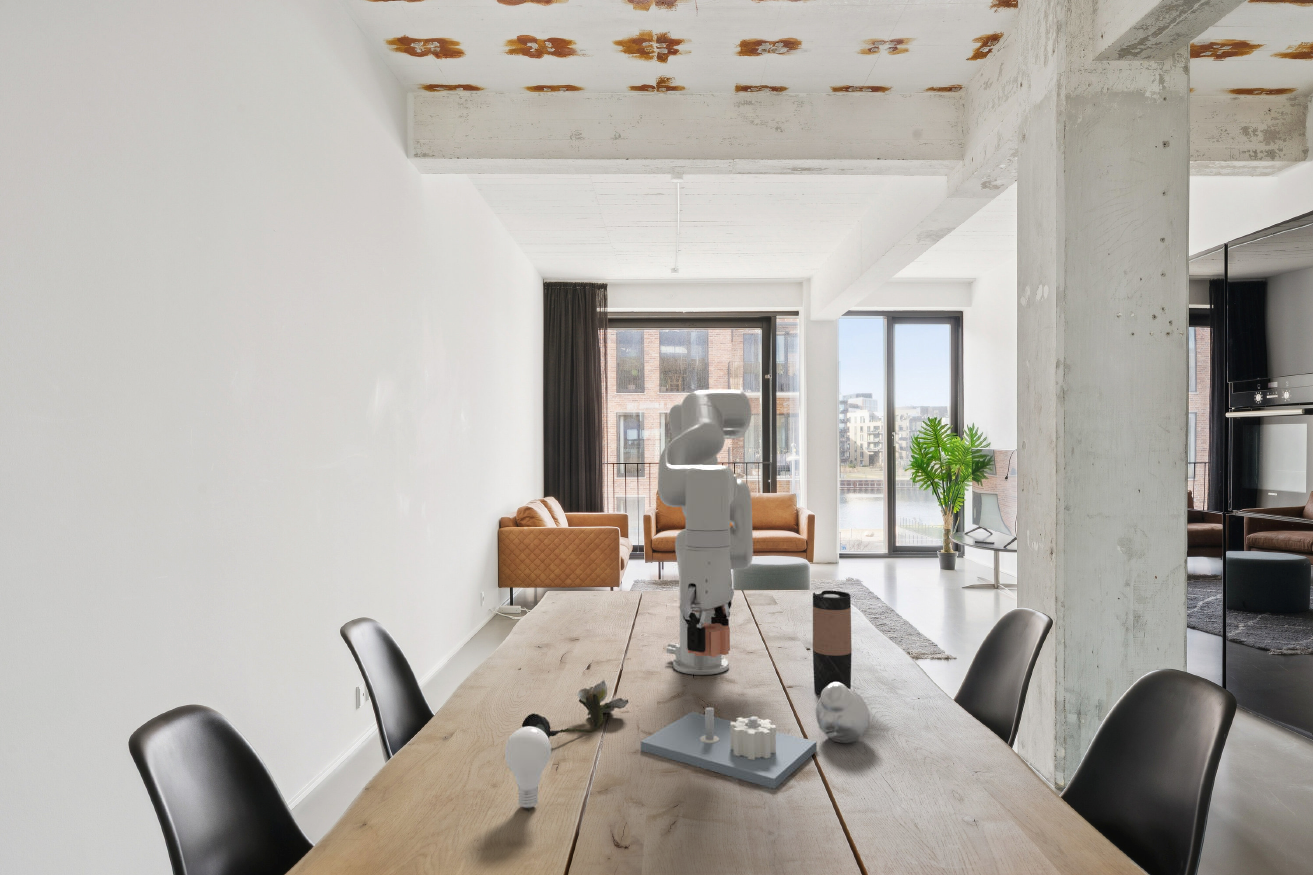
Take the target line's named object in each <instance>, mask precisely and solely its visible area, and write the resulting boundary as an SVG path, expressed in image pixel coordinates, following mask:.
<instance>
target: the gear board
mask: <svg viewBox="0 0 1313 875" xmlns="http://www.w3.org/2000/svg"><path fill="white" fill-rule="evenodd" d="M704 709H705V710H704V712H705V714H704V713H703V714H702V713H698V712H696V711H695V712H694V711H691V712H689V713H688V714H685V715H684V716H683V717H682V716H681V718H679V719H677V720H676V721H673V722H672V723H670V724H668V725H667V726H665V727H663V728H661V729H659V730H658V731H657V732H655V733H653V734H651V735H649V736H648V737H646V738H644V739H642V740H641V741H640V751H642V752H645V753H649V754H651V755H655V756H659V757H662V758H666V759H669V760H672V761H676V762H679V763H683V762H684V764H686V763H687V765H689V764H691V765H690V766H693V765H694V766H693V767H696V766H698V767H697V768H700V767H701V768H700V769H703V768H705V769H704V770H707V769H709V770H708V771H710V770H711V771H712V772H714V771H715V773H717V772H718V774H721V775H725V776H728V777H731V776H732V777H731V778H734V779H738V780H742V781H746V782H747V783H748V782H749V783H752V784H756V785H760V786H762V787H766V788H769V789H773V790H775V789H776V788H777V787H778V786H780V785H781V783H783V782H784V781H785V780H787V778H788V777H789V776H790V775H792V774H793V773H794V772H795V771H796V770H797V769H798V768H799V767H800V766H802V765H803V764H804V763H805V762H806V761H807V760H808V759H809V758H810V757H811V756H812V755H814V754H815V753H816V752H817V751H818V750H817V749H818V748H817V741H816V740H812V739H807V738H803V737H799V736H795V735H791V734H786V733H782V732H780V731H776V753H771V757H770V758H767V759H765V758H763V757H760V758H756V757H755V760H751V759H748V757H744V756H743V755H741V756H736V755H734V750H731V748H730V724H731V722H734V721H733V720H728V719H725V718H719V717H715V714H714V713H715V708H714V707H706V708H704ZM748 718H749V719H748V722H749V728H757V718H751V717H748ZM816 750H817V751H816ZM814 752H815V753H814Z"/></svg>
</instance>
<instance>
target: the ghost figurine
mask: <svg viewBox="0 0 1313 875" xmlns="http://www.w3.org/2000/svg"><path fill="white" fill-rule="evenodd" d="M819 697H820V698H819V699H818V701H817V704H816V707H815V718H816V721H817V725H818V726H819V729H820V731H821V732H822V733H823V734H824V735H825V736H826V737H828V738H829V739H830V740H832V741H834V742H838V743H841V744H847V743H853V742H856V741H857V740H859V739H861V737H863V735H865V733H866V732H867V730H868V727H869V724H870V710H869V707H868V705H867V703H866V701H865V700H864V698H863V697H862V696H861V695H860V694H859V693H858V692H857V691H855V690H853V689H848V688H847V687H846V686H845V685H844V684H842V683H839V682H833V683H830V684H829V685H828V686H826V687H825V688H824V689H823V690H822V692H821V696H819Z"/></svg>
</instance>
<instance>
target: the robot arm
mask: <svg viewBox="0 0 1313 875" xmlns="http://www.w3.org/2000/svg"><path fill="white" fill-rule="evenodd" d="M668 420H669V421H668V423H669V429H670V433H671V436H672V440H671V441H670V442H669V443H668V444H667V445H666V446H665V447H664V448H663V449H662V452H661V454H660V457H659V461H658V469H657V492H658V497H659V499H660V501H661V502H662V503H663V504H664V505H665V506H668V507H672V508H681V511H682V514H683V517H685V528H684V529H681V531H679V532H678V534H676V537H675V541H674V542H675V543H674V549H675V555H676V556H675V557H676V562H677V570H678V571H677V572H678V584H679V585H678V588H679V590H678V592H679V595H678V596H679V606H678V607H679V608H678V609H679V643H677V642H676V643H675V642H669V643H668V644H667V647H666V653H667V654H671V655H674V656H675V659H673V661H672V667H673V669H675V670H676V671H678V672H680V673H684V674H688V675H696V676H697V675H698V676H704V675H705V676H709V675H715V674H721V673H723V672H725V671H727V670H728V669H729V666H730V665H729V664H730V663H729V660H728V659H727V658H725V657H723V655H722V654H721V655H717V657H711V656H704V655H703V656H695V654H694V653H688V652H687V649H688V650H690V651H696V652H705V627H703V623H707V624H710V623H711V624H715V623H719V624H721V625H723V626H729V625H730V623H729V622H730V620H729V619H730V616H731V612H730V610H731V607H732V603H733V602H732V601H733V598H734V596H735V591H734V589H733V580H732V579H733V578H732V577H733V575H732V570H745V569H747V568H749V567H750V566H751V564H752V562H753V556H754V544H753V543H754V541H753V540H754V538H753V535H754V534H753V507H752V506H753V505H752V493H751V490H750V487H749V485H748V484H747V482H745V481H744V480H742V479H738V477H737V474H735V473H734V471H733V470H732V469H731V467H729V466H727V465H721V464H719V463H718V462H719V460H718V459H719V458H718V457H717V455H719V454H720V453H721V451H722V450H723V448H724V446H725V441H726V440H737V439H738V440H739V439H742V438H743V437H744V436H745V434H746V432H747V431H748V429H749V427H750V424H751V420H752V407H751V402H750V399H749V397H748V396H747V395H746V393H744V392H743V391H741V390H739V389H738V390H737V389H702V390H701V389H700V390H695V391H692V392H690V393H689V394H687V395H686V396H685V397H684V398H683V400H682V402H680V403H676V404H674V405H673V406H672V407H671V408H670V409H669V413H668ZM731 525H732V526H731ZM729 627H730V626H729Z"/></svg>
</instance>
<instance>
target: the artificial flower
mask: <svg viewBox="0 0 1313 875" xmlns="http://www.w3.org/2000/svg"><path fill="white" fill-rule="evenodd" d="M575 695H576V696H577V697H578V698H579V700H578V702H579V703H580V704H582V705H583V706H584V707H585V708H586V710H587V711H588V712H587V716H588V717H589V716H590V720H591V721H592V725H593V727H592V729H591V728H589V729H588V728H586V729H584V728H569V727H568V728H565V729H560V730H558V729H557V730H551V725H550V721H549V720H548V719H547V718H546V717H545V716H542V715H540V714H538V713H530V714H528V715H527V716H526V717H525V718H524V720H523V722H522V724H521V728H523V727H527V726H532V727H537V728H539V729H541V730H542V731H543V732H544V733H545V734H546V735H547V736H548V738H549V739H550V737H556V736H557V735H558V734H559V733H567V732H568V733H570V732H577V733H593V732H595V731H596V730H598V728H599V726H600V725H601V724H602V723H603V721H604V716H603V715H604V714H605V713H606V714H608V713H612V712H614V711H615V709H623V708H625V707H626V706H627V705H628V704H629V703H630V702H629V699H627V698H626V699H623V698H622V697H618V698H615V699H613V700H610V701H609V702H604V703H603V704H601V703H602V702H603V701H605V700H606V698H607V695H608V686H607V683H606V680H605V679H604V678H603V679H602V681H600V682H599V683H597V684H595V685H594V686H590V687H589V688H585V687H584V688H581V689H580V690H579V691H578V692H577V693H575Z"/></svg>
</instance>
